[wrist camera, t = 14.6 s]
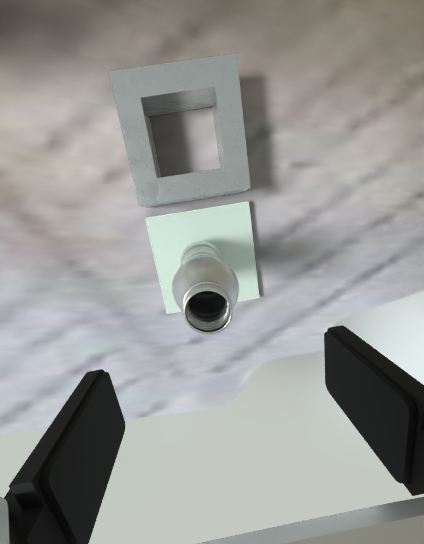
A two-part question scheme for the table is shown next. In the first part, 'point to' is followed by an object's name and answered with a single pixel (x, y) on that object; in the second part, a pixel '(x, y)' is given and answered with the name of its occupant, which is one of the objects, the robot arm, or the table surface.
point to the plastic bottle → (205, 288)
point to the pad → (210, 228)
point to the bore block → (175, 98)
